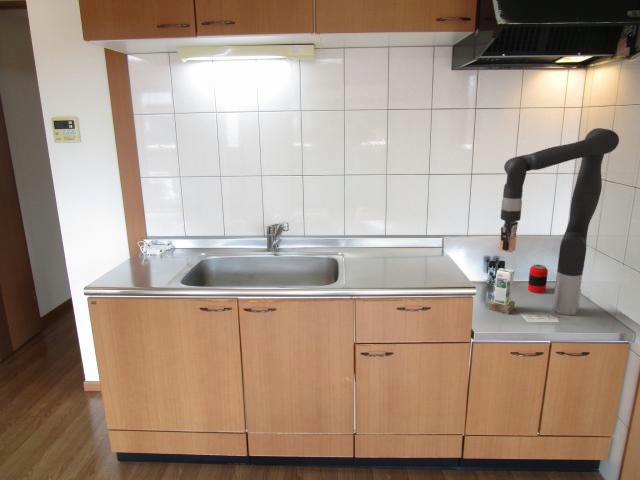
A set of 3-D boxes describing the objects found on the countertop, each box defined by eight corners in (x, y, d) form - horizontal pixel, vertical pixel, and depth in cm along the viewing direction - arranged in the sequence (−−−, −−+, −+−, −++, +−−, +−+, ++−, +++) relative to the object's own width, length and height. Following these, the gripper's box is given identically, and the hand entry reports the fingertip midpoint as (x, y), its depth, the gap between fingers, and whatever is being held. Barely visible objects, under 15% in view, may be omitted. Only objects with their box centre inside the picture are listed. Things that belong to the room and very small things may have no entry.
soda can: (542, 287, 215) (544, 264, 212) (547, 293, 208) (550, 269, 205) (525, 287, 216) (528, 263, 213) (530, 293, 209) (533, 269, 206)
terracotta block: (515, 249, 186) (516, 235, 185) (511, 252, 183) (512, 238, 181) (502, 247, 189) (504, 234, 188) (498, 250, 186) (500, 236, 184)
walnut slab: (514, 308, 194) (514, 301, 193) (508, 314, 188) (508, 307, 187) (495, 303, 199) (496, 297, 198) (488, 309, 193) (489, 303, 192)
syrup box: (493, 303, 192) (496, 271, 188) (497, 298, 196) (500, 267, 192) (507, 306, 188) (510, 273, 184) (511, 301, 193) (514, 269, 189)
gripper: (507, 204, 189) (504, 243, 193) (495, 210, 178) (492, 251, 183) (526, 206, 184) (522, 246, 189) (515, 212, 174) (511, 254, 178)
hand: (507, 248), depth 186 cm, fingers closed on terracotta block, 5 cm apart
